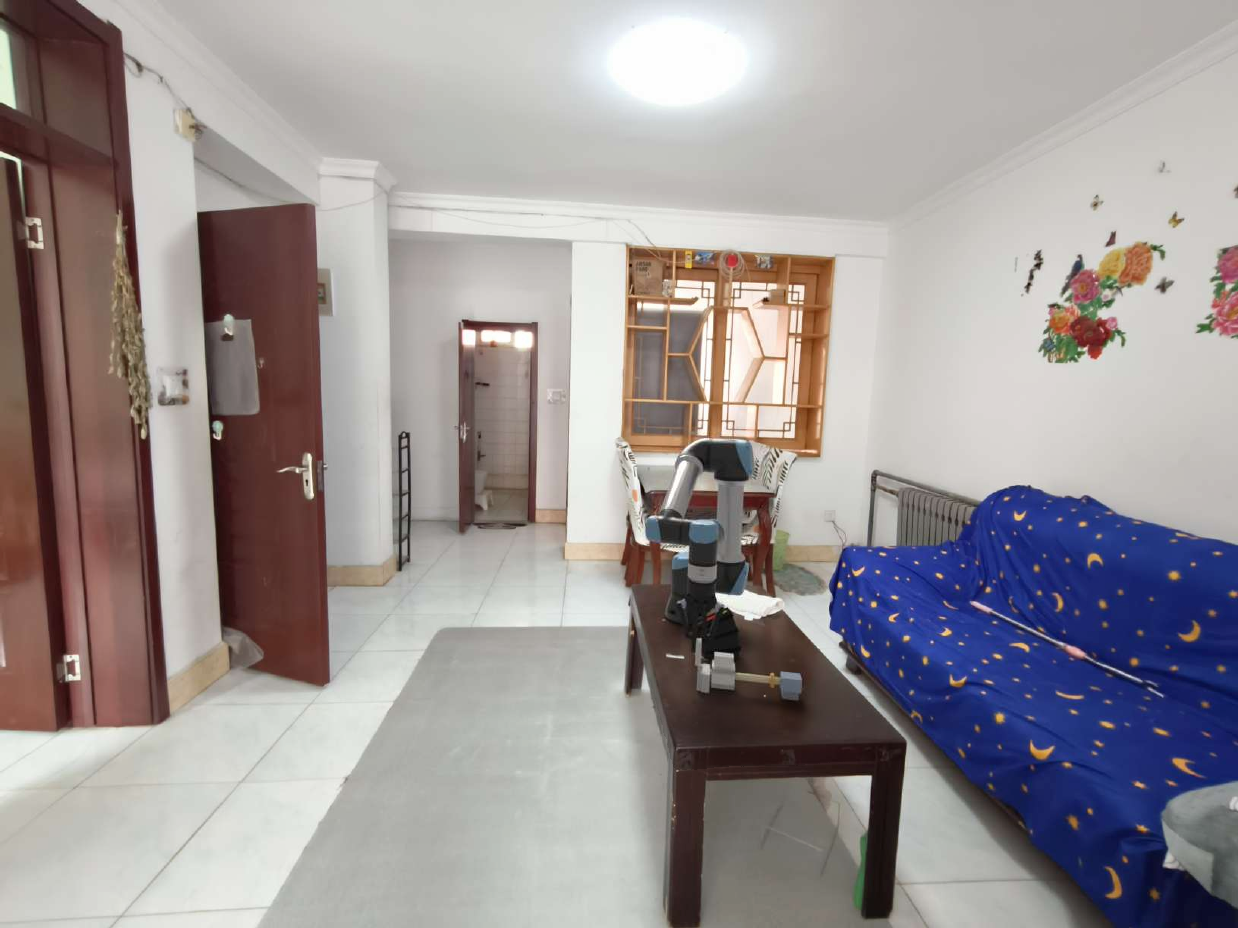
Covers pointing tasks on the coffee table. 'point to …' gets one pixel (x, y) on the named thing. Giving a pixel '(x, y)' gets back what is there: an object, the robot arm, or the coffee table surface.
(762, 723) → the coffee table surface
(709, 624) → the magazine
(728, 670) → the white stepped block
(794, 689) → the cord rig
